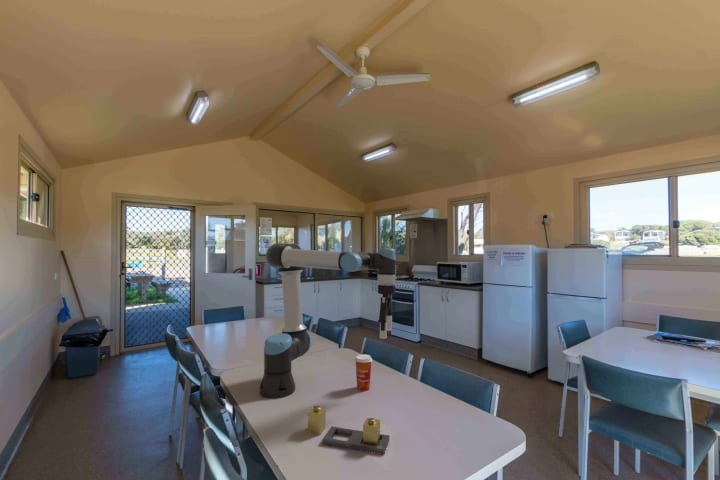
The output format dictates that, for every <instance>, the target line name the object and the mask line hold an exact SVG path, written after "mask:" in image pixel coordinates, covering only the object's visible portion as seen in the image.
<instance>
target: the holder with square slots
mask: <svg viewBox="0 0 720 480" xmlns="http://www.w3.org/2000/svg"><path fill="white" fill-rule="evenodd" d="M336 433H337V434H336ZM335 434H336V435H342V434H343V435H344V436H348V435H350V436H349V438H348V440H342V439H336V438H335V436H336V435H335ZM343 435H342V436H343ZM333 437H334V438H333ZM380 440H381V441H380ZM389 443H390V435H389V434H383V433H382V434H381V419H375V418H374V417H370V418H369V417H367V418H365V420H364V422H363V424H362V430H358V429H351V428H344V427H338V426H331V427H330V428H329V429H328V431H327V433H326V434H325V435H324V437H323V438H322V445H324V446H325V445H326V446H332V447H336V446H338V447H337V448H342V447H343V448H344V449H348V448H350V449H349V450H354V449H355V450H356V451H360V450H362V451H361V452H365V451H368V452H367V453H371V452H373V453H372V454H377V453H381V454H380V455H383V454H385V455H386V452H385V451H387V449H388V446H389ZM343 448H342V449H343ZM386 448H387V449H386ZM355 450H354V451H355ZM374 452H375V453H374Z"/></svg>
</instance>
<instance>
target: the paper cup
mask: <svg viewBox="0 0 720 480" xmlns="http://www.w3.org/2000/svg"><path fill="white" fill-rule="evenodd" d="M354 361H355V374H356V389H357V390H358V391H361V392H366V391H367V392H368V391H369V390H370V386H371V376H372V375H371V373H372V372H371V371H372V362H373V358H372V356H371V355H370V354H358V355H357V356H355V359H354Z"/></svg>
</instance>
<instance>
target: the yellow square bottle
mask: <svg viewBox="0 0 720 480" xmlns="http://www.w3.org/2000/svg"><path fill="white" fill-rule="evenodd" d="M326 410H327V408H326V407H322V406H320V405H315V406H314V405H313V406H312V407H311V408H310V409H309V411H308V412H307V414H308V415H307V417H308V418H307V434H311V435H318V436H321V435H323V434H322V433H323V432H324V430H325V429H326V414H327V413H326Z"/></svg>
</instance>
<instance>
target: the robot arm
mask: <svg viewBox="0 0 720 480" xmlns="http://www.w3.org/2000/svg"><path fill="white" fill-rule="evenodd" d="M396 257H397V256H396V249H395V248H389V247H388V248H387V247H386V248H378V250H377V252H367V251H366V252H363V251H361V252H360V251H359V252H358V251H357V252H351V251H350V252H347V251H346V252H345V251H333V250H332V251H331V250H317V249H316V250H315V249H304V247H302V246H301V245H300V244H296V243H279V242H278V243H275V244H271V245H270V246H269V247H268V249H267V250H266V252H265V260H266V262H267V264H268V265H269V266H270V267H272V268H274V269H277V272H278V274H280V276H281V283H282V301H283V316H284V317H283V318H284V327H283V328H282V329H281V333H277V334H273V335H272V334H271V335H270V336H268V337H267V338H266V339H265V340H264V346H263V355H264V356H263V357H264V358H263V375H262V378H261V382H260V385H259V391H258V394H259V395H260V396H262V397H263V398H268V399H280V398H284V397H288V396H290V395H292V394H293V393H294V392H295V391H296V383H295V379H294V377H293V373H292V361H294V360H296V359H298V358H300V357H303V356H304V355H305V354H307V353H308V352H309V351H310V349H311V347H312V344H313V343H312V342H313V341H312V336H311V334H310V333H309V331H308V330H307V326H306V325H305V324H304V319H303V318H304V317H303V300H302V287H301V273H302V272H303V271H304V268H311V269H325V270H334V271H335V270H336V271H346V272H348V273H355V272H358V271H365V270H366V271H367V270H369V271H371V270H372V271H377V284H378V285H377V293H378V294H379V295H382V297H380V303H379V304H380V306H379V317H378V320H377V323H379V339H381V340H382V339H383V340H387V337H388V336H387V333H388V332H387V331H389V332H392V330H393V329H392V328H393V327H392V326H393V324H392V323H393V316H394V315H395V314H394V311H393V301H392V298H393V297H392V295H395V294H396V280H397V279H398V277H397V276H396V269H397V268H396V267H397V266H396V265H397V264H396V263H397V258H396Z"/></svg>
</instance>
